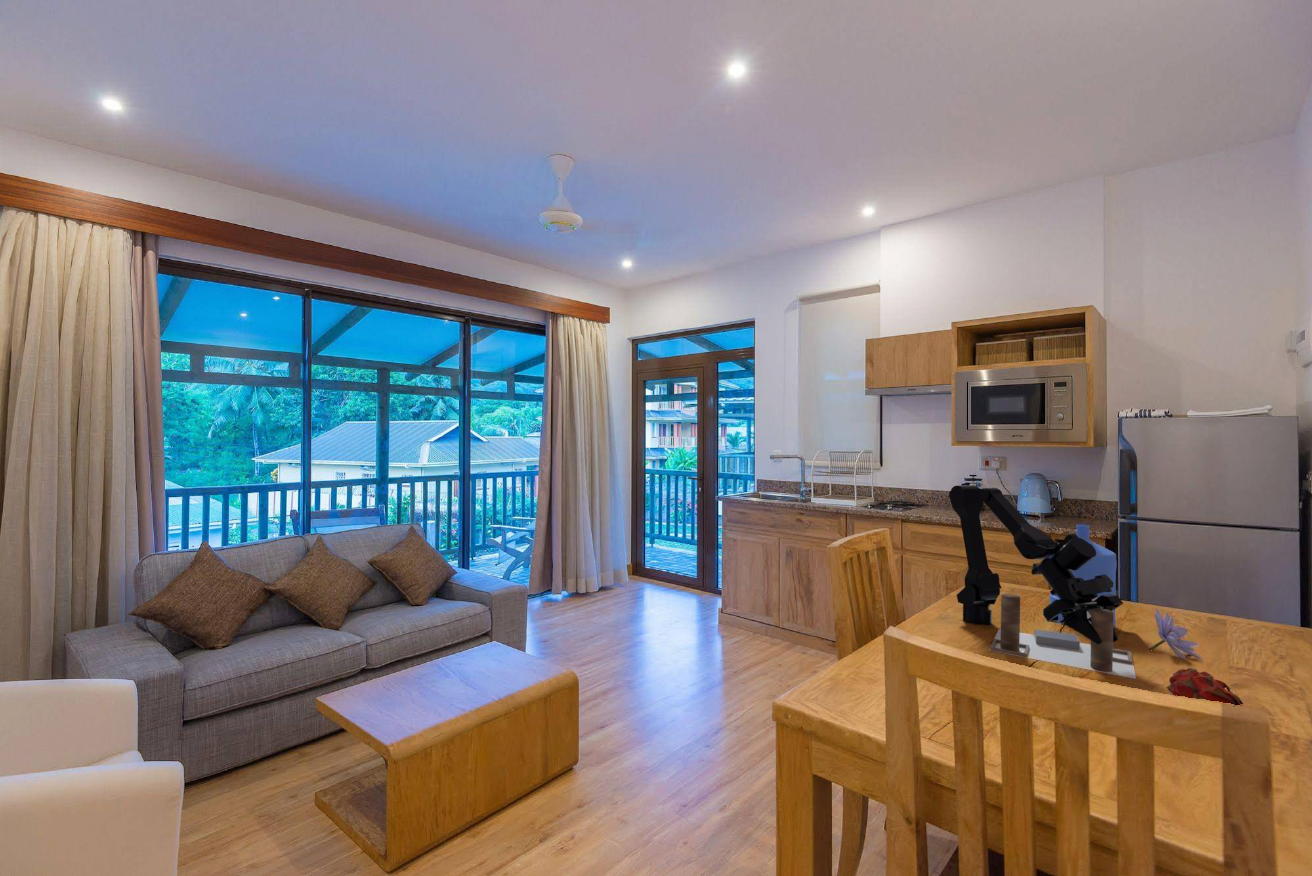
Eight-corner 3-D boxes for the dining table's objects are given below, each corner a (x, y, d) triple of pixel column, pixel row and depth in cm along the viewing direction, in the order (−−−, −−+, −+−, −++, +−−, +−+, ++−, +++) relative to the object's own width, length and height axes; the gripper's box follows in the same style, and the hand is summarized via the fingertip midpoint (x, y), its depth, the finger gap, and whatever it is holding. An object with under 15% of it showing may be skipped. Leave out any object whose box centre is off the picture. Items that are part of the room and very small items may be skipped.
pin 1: (999, 649, 147) (1000, 596, 147) (1001, 645, 151) (1002, 593, 150) (1018, 653, 145) (1019, 599, 145) (1020, 648, 148) (1020, 595, 148)
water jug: (1112, 621, 175) (1114, 524, 175) (1118, 636, 162) (1120, 531, 161) (1048, 611, 183) (1049, 519, 183) (1048, 625, 170) (1050, 526, 170)
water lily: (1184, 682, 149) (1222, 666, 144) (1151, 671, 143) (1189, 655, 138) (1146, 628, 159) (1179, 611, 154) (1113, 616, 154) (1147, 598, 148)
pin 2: (1090, 669, 136) (1091, 611, 135) (1090, 663, 139) (1091, 607, 139) (1112, 673, 133) (1113, 614, 133) (1112, 667, 137) (1113, 610, 136)
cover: (1036, 643, 152) (1036, 635, 152) (1033, 636, 157) (1034, 629, 157) (1079, 650, 148) (1079, 642, 148) (1075, 642, 153) (1075, 634, 153)
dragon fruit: (1166, 704, 125) (1237, 740, 113) (1148, 685, 122) (1219, 721, 110) (1189, 670, 125) (1261, 703, 114) (1171, 651, 122) (1244, 683, 111)
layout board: (989, 655, 147) (989, 647, 147) (998, 633, 163) (998, 626, 163) (1135, 684, 131) (1136, 675, 131) (1130, 656, 147) (1130, 648, 147)
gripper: (1055, 564, 137) (1103, 628, 126) (1115, 560, 142) (1166, 621, 132) (1024, 590, 144) (1067, 652, 134) (1082, 585, 150) (1127, 644, 140)
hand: (1108, 642), depth 135 cm, fingers open, 5 cm apart
